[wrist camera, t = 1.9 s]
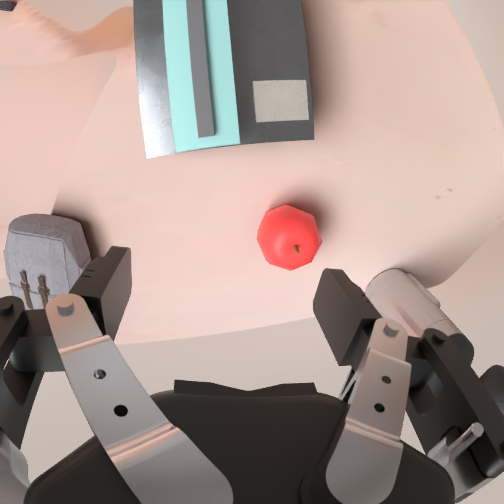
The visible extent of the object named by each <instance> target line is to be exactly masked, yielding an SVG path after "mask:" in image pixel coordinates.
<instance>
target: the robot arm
mask: <svg viewBox="0 0 504 504" xmlns="http://www.w3.org/2000/svg"><path fill="white" fill-rule="evenodd" d="M131 288H132V275H131V250H130V248H127V247H118V246H112V247H111V248H110V249H109V251H108V252H107V254H106V255H105V257H97V258H95V259H94V260H92V261H91V262H89V264H88V265H87V267H86V268H85V270H84V271H83V272H82V274H81V276H79V278H78V279H77V281H76V282H75V284H74V285H73V287H72V288H71V290H70V291H69V293H68V294H61V295H58V296H55V297H54V298H52V299H51V300H50V301H49V302H48V303H47V305H46V309H31V310H26V308H25V305H24V302H23V300H22V299H21V298H19V297H16V296H6V297H3V298H0V504H455V503H457V502H460V501H462V500H463V499H465V498H467V497H468V496H470V495H471V494H473V493H474V492H476V491H477V490H479V489H480V488H482V487H483V486H485V485H486V484H487V483H489V482H490V481H492V480H493V479H494V478H496V477H497V476H498V475H500V474H501V473H502V472H504V367H502V366H500V365H494V366H492V367H490V368H489V369H488V370H487V371H486V372H485V373H484V374H483V375H482V376H481V377H480V378H478V376H477V375H476V373H475V372H474V370H473V369H472V368H471V366H470V365H471V363H472V360H473V357H474V348H473V345H472V344H471V342H470V341H469V340H468V339H467V338H466V336H465V335H463V333H462V332H461V331H460V330H459V329H458V328H457V327H456V326H455V324H454V323H453V322H452V321H451V320H450V319H449V318H448V317H447V316H446V315H445V314H444V313H443V312H442V310H441V309H440V302H439V301H438V300H437V299H436V298H435V297H434V296H433V295H432V294H431V293H430V292H429V291H428V290H427V289H426V288H425V287H424V286H423V285H422V284H421V283H420V282H419V281H418V280H417V279H416V278H415V277H414V276H413V275H412V274H411V273H404V272H403V271H402V270H399V269H390V270H387V271H384V272H382V273H381V274H379V275H378V276H377V277H375V278H374V279H373V280H372V281H371V283H370V284H369V286H368V287H367V289H366V291H365V293H364V292H363V291H362V289H361V288H360V287H358V286H357V285H356V284H354V283H353V282H352V281H351V280H350V279H349V278H348V276H347V275H346V274H345V272H344V271H343V270H340V269H329V268H326V269H324V271H323V273H322V275H321V278H320V282H319V285H318V288H317V291H316V294H315V297H314V301H313V311H314V314H315V316H316V318H317V320H318V322H319V324H320V326H321V328H322V331H323V333H324V335H325V337H326V339H327V341H328V343H329V345H330V347H331V349H332V352H333V354H334V356H335V358H336V361H337V363H338V365H339V366H347V365H351V366H352V368H351V370H350V372H349V374H348V376H347V378H346V381H345V383H344V385H343V388H342V390H341V393H340V395H339V397H338V398H336V397H333V396H330V395H327V394H323V393H318V392H317V390H316V387H315V385H314V383H292V384H279V385H276V386H271V387H266V388H262V389H257V390H252V391H244V390H240V389H236V388H231V387H227V386H223V385H218V384H215V383H210V382H197V381H185V380H175V382H174V390H169V391H163V392H159V393H155V394H152V395H150V396H149V395H148V393H147V392H146V391H145V389H144V388H143V386H142V385H141V383H140V382H139V381H138V379H137V378H136V376H135V375H134V373H133V372H132V370H131V369H130V367H129V366H128V365H127V363H126V361H125V360H124V358H123V357H122V355H121V353H120V352H119V350H118V349H117V347H116V345H115V344H114V339H115V336H116V333H117V330H118V327H119V325H120V322H121V319H122V316H123V314H124V311H125V308H126V306H127V303H128V301H129V298H130V294H131ZM8 359H9V361H8V363H7V365H6V367H5V369H4V366H5V364H6V362H7V360H8ZM3 370H4V371H3ZM54 371H65V373H66V375H67V378H68V380H69V382H70V385H71V387H72V389H73V392H74V394H75V396H76V398H77V401H78V403H79V405H80V407H81V409H82V411H83V413H84V415H85V417H86V419H87V421H88V423H89V425H90V427H91V429H92V431H93V433H94V436H93V437H92V438H91V439H89V440H88V441H87V442H85V443H84V444H83V445H81V446H80V447H79V448H77V449H76V450H75V451H73V452H72V453H70V454H69V455H68V456H67V457H65V458H64V459H62V460H61V461H60V462H58V463H57V464H55V465H54V466H53V467H51V468H50V469H48V470H47V471H46V472H44V473H43V474H41V475H40V476H39V477H37V478H36V479H35V480H34V481H33V482H32V483H31V485H30V483H29V479H28V464H27V461H26V458H25V456H24V455H23V454H22V452H21V451H20V448H21V444H22V440H23V437H24V433H25V429H26V426H27V422H28V419H29V416H30V412H31V409H32V406H33V403H34V400H35V396H36V394H37V391H38V388H39V385H40V383H41V380H42V377H43V375H44V372H54ZM405 410H406V412H407V414H408V416H409V418H410V421H411V423H412V425H413V427H414V429H415V432H416V434H417V436H418V438H419V440H420V443H421V445H422V447H423V450H424V452H425V454H426V455H424V454H423V453H421V452H419V451H418V450H416V449H415V448H413V447H411V446H410V445H408V444H407V443H405V442H403V441H402V440H400V435H401V430H402V425H403V421H404V415H405Z"/></svg>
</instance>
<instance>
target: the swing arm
mask: <svg viewBox="0 0 504 504" xmlns="http://www.w3.org/2000/svg"><path fill="white" fill-rule="evenodd" d="M162 1H163V24H164V40H165V54H166V67H167V78H168V89H169V98H170V108H171V116H172V125H173V133H174V141H175V148H176V152H181V151H188V150H195V149H202V148H209V147H217V146H225V145H234V144H240V137H239V126H238V116H237V105H236V95H235V84H234V74H233V63H232V53H231V42H230V31H229V21H228V10H227V0H162Z"/></svg>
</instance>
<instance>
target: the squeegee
mask: <svg viewBox="0 0 504 504" xmlns="http://www.w3.org/2000/svg"><path fill="white" fill-rule="evenodd" d="M15 5H16V4H14V3H10V2H5V1H4V2H0V10H4V11H12V10H13V9H14V7H15Z"/></svg>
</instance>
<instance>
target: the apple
mask: <svg viewBox="0 0 504 504" xmlns="http://www.w3.org/2000/svg"><path fill="white" fill-rule="evenodd" d="M257 241H258V243H259V245H260V247H261V250H262V252H263V254H264V257H265V259H266V260H267V262H268V263H269V264H271V265H274V266H278V267H281V268H284V269H287V270H290V271H291V270H294V269H296V268H299V267H301V266H303V265H306V264H308V263H310V262H312V260H313V258H314V256H315V255H316V253H317V251H318V249H319V247H320V245H321V243H322V239H321V236H320V233H319V230H318V227H317V224H316V221H315V218H314V215H312V214H309V213H307V212H304V211H302V210H299V209H297V208H294V207H292V206H289V205H287V204H284V205H282V206H279V207H277V208H275V209H272V210H270V211H267V212H266V214H265V216H264V218H263V220H262V223H261V225H260V227H259V229H258V235H257Z"/></svg>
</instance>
